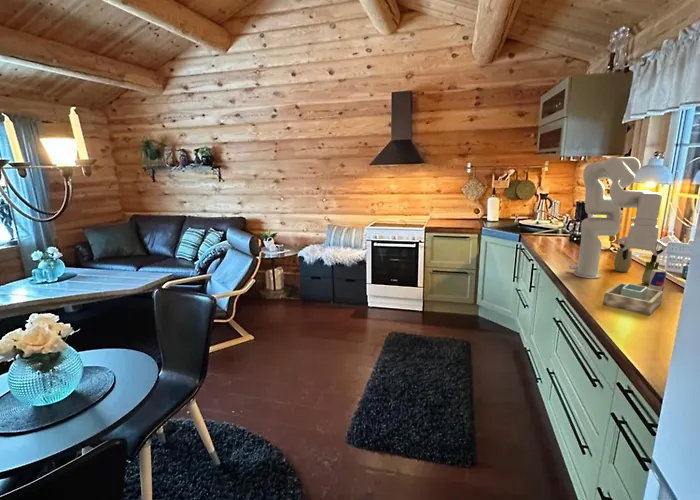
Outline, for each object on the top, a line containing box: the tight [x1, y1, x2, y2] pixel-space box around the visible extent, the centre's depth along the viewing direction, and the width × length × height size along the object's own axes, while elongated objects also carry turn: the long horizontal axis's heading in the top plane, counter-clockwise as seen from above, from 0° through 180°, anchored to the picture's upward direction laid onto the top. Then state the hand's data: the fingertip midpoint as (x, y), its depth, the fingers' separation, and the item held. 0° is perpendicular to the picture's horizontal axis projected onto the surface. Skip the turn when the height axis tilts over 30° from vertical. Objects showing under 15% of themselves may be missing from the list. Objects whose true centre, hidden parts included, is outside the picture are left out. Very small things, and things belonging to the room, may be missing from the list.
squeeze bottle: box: [613, 240, 633, 273], centre depth 213 cm, size 8×8×18 cm
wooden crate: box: [602, 282, 664, 317], centre depth 165 cm, size 16×20×6 cm
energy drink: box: [648, 268, 667, 292], centre depth 174 cm, size 5×5×12 cm
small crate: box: [621, 282, 649, 300], centre depth 165 cm, size 7×10×6 cm
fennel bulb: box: [641, 260, 660, 286], centre depth 190 cm, size 6×5×12 cm
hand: (638, 261), depth 164 cm, fingers open, 9 cm apart
